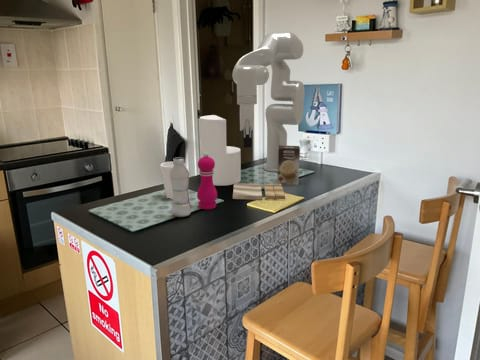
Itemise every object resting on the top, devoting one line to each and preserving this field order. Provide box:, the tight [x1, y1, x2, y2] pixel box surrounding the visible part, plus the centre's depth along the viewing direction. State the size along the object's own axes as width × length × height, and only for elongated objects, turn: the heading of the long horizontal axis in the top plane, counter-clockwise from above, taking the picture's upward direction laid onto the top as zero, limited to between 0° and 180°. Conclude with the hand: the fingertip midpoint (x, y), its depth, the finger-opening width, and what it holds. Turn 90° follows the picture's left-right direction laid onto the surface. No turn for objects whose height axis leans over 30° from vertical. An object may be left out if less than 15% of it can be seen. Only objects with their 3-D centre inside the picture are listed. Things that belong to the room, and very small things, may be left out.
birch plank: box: [232, 182, 263, 201], centre depth 159 cm, size 16×11×2 cm
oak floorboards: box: [263, 183, 286, 200], centre depth 159 cm, size 16×7×2 cm, turn 179°
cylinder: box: [199, 114, 242, 186], centre depth 175 cm, size 17×17×28 cm
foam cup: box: [159, 161, 186, 200], centre depth 155 cm, size 10×9×13 cm
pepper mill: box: [196, 153, 218, 210], centre depth 142 cm, size 7×7×20 cm
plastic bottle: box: [170, 156, 192, 218], centre depth 134 cm, size 6×7×20 cm
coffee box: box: [276, 145, 301, 186], centre depth 171 cm, size 9×6×16 cm
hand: (247, 147), depth 159 cm, fingers closed
